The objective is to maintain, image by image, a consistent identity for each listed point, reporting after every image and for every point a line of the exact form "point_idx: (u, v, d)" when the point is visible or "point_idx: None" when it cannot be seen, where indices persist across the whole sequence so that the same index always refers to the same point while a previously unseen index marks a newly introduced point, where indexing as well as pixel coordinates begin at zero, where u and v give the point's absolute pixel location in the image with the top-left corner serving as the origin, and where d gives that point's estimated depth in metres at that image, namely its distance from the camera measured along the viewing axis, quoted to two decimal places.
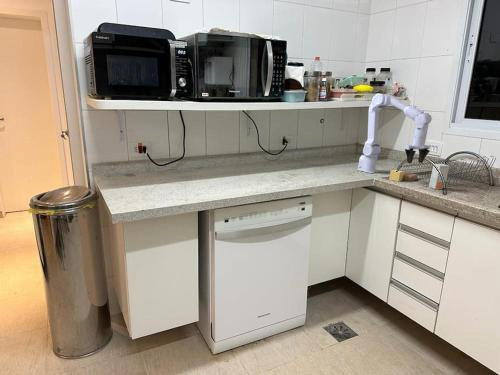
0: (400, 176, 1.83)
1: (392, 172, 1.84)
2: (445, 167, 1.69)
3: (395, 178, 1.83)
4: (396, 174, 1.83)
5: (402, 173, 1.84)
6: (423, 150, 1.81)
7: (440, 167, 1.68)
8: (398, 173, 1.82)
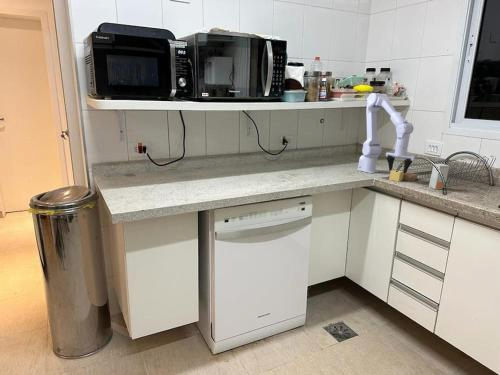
0: (400, 176, 1.83)
1: (392, 172, 1.84)
2: (445, 167, 1.69)
3: (395, 178, 1.83)
4: (396, 174, 1.83)
5: (402, 173, 1.84)
6: None
7: (440, 167, 1.68)
8: (398, 173, 1.82)
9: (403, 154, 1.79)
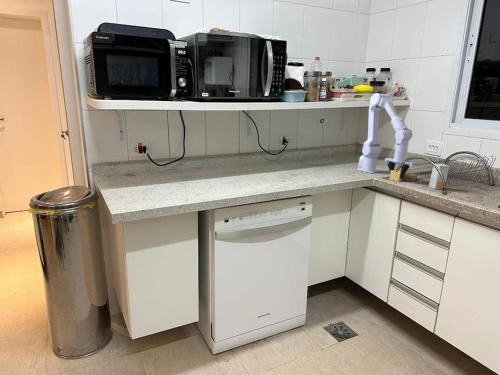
0: None
1: (392, 172, 1.84)
2: (445, 167, 1.69)
3: (395, 178, 1.83)
4: (396, 174, 1.83)
5: None
6: None
7: (440, 167, 1.68)
8: (398, 173, 1.82)
9: (402, 160, 1.80)
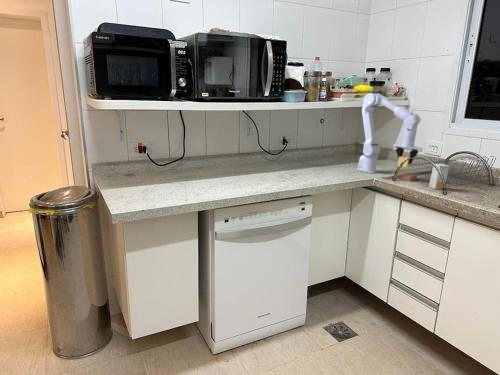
0: (408, 162, 1.83)
1: (400, 158, 1.85)
2: (445, 167, 1.69)
3: (403, 164, 1.84)
4: (404, 160, 1.83)
5: None
6: None
7: (440, 167, 1.68)
8: (406, 159, 1.82)
9: (411, 145, 1.81)
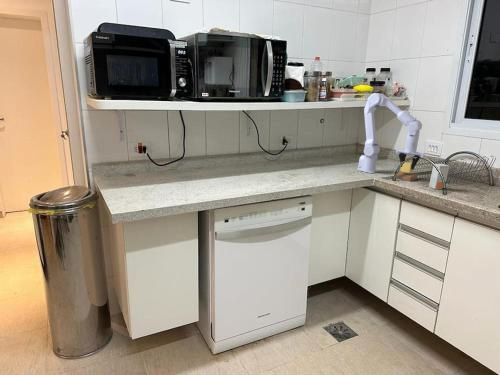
0: None
1: None
2: (445, 167, 1.69)
3: (406, 169, 1.87)
4: (406, 165, 1.86)
5: None
6: None
7: (440, 167, 1.68)
8: (409, 164, 1.85)
9: (413, 151, 1.84)
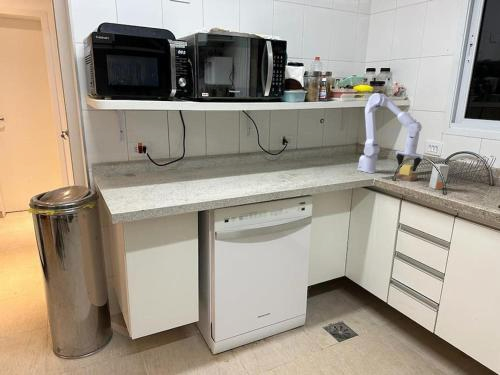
0: (410, 170, 1.86)
1: (402, 166, 1.88)
2: (445, 167, 1.69)
3: (405, 172, 1.87)
4: (406, 168, 1.86)
5: (412, 167, 1.87)
6: None
7: (440, 167, 1.68)
8: (408, 167, 1.85)
9: (413, 152, 1.84)
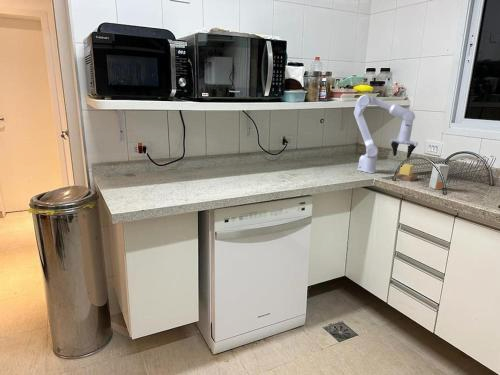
0: (410, 170, 1.86)
1: (402, 166, 1.88)
2: (445, 167, 1.69)
3: (405, 172, 1.87)
4: (406, 168, 1.86)
5: (412, 167, 1.87)
6: None
7: (440, 167, 1.68)
8: (408, 167, 1.85)
9: (407, 140, 1.90)
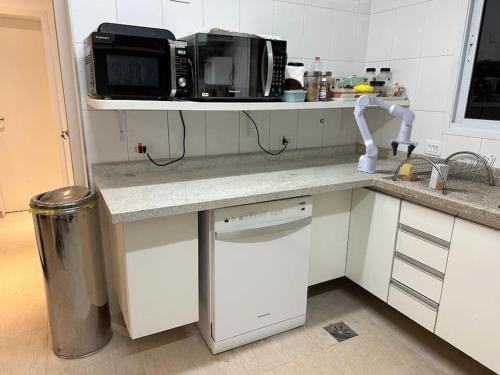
0: (410, 170, 1.86)
1: (402, 166, 1.88)
2: (445, 167, 1.69)
3: (405, 172, 1.87)
4: (406, 168, 1.86)
5: (412, 167, 1.87)
6: None
7: (440, 167, 1.68)
8: (408, 167, 1.85)
9: (407, 140, 1.90)
